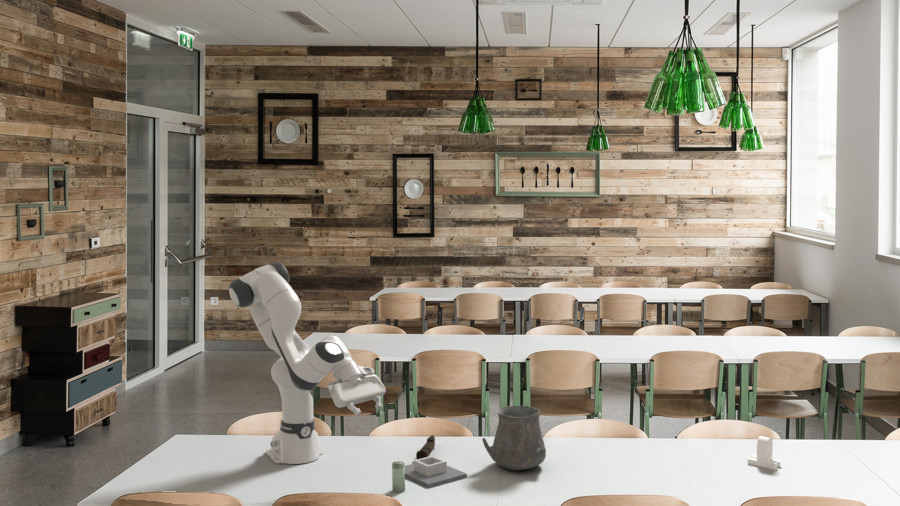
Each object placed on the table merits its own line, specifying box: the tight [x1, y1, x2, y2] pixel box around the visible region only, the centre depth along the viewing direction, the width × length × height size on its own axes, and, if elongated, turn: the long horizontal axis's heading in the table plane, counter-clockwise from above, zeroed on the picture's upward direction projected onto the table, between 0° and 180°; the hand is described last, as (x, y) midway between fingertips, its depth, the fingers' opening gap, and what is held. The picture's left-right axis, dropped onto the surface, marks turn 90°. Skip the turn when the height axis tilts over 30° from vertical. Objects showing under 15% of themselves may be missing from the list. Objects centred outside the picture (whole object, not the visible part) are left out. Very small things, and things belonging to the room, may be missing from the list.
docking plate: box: [405, 455, 468, 489], centre depth 277 cm, size 20×16×5 cm
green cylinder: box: [391, 460, 406, 494], centre depth 262 cm, size 4×4×9 cm
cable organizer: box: [747, 435, 781, 471], centre depth 285 cm, size 5×10×10 cm, turn 47°
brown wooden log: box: [415, 435, 436, 460], centre depth 301 cm, size 19×4×5 cm, turn 165°
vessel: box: [481, 405, 547, 471], centre depth 286 cm, size 22×22×20 cm
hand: (369, 411), depth 268 cm, fingers open, 8 cm apart
